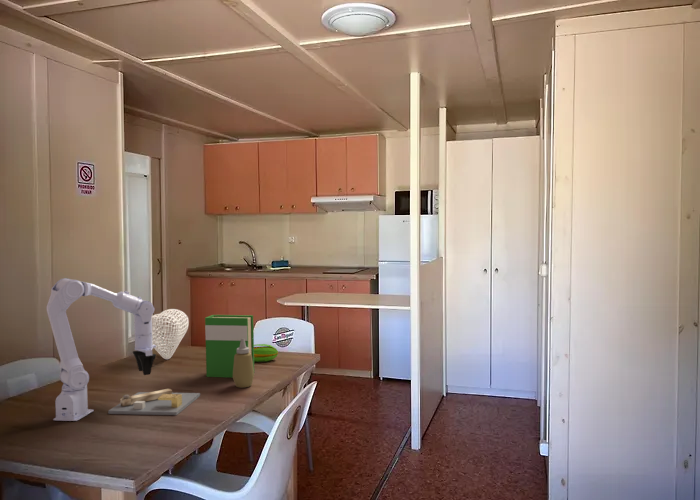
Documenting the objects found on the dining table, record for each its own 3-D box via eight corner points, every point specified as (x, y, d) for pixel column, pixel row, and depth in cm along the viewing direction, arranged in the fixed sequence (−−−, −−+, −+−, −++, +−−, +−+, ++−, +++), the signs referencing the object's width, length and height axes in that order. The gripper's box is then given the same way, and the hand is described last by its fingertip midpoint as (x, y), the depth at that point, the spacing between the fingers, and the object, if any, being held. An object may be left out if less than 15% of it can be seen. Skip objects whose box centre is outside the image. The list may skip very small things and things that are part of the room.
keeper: (177, 407, 175) (176, 397, 175) (158, 407, 176) (157, 397, 176) (182, 403, 179) (181, 394, 179) (163, 403, 180) (163, 393, 180)
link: (122, 406, 177) (122, 397, 177) (119, 404, 179) (119, 395, 179) (172, 396, 187) (172, 387, 187) (168, 393, 190) (168, 385, 190)
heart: (173, 366, 233) (172, 316, 232) (138, 367, 233) (136, 316, 233) (193, 352, 261) (192, 306, 260) (162, 352, 261) (160, 307, 261)
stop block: (142, 409, 175) (142, 403, 175) (133, 408, 175) (133, 402, 175) (145, 407, 177) (145, 401, 177) (136, 406, 177) (136, 400, 177)
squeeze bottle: (233, 389, 198) (232, 341, 197) (232, 383, 206) (231, 337, 205) (255, 387, 200) (254, 340, 199) (253, 382, 208) (252, 336, 207)
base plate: (176, 415, 171) (176, 412, 171) (108, 413, 174) (108, 410, 174) (200, 395, 191) (200, 393, 191) (138, 394, 193) (138, 392, 193)
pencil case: (276, 345, 238) (231, 346, 238) (277, 362, 238) (231, 363, 238) (278, 342, 246) (235, 343, 245) (278, 359, 246) (235, 360, 245)
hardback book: (254, 373, 221) (253, 315, 220) (248, 378, 214) (247, 318, 213) (213, 371, 224) (212, 314, 223) (206, 376, 217) (205, 317, 216)
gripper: (160, 335, 184) (161, 375, 184) (150, 329, 196) (151, 366, 196) (139, 338, 180) (140, 378, 180) (129, 332, 192) (130, 369, 192)
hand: (144, 372), depth 188 cm, fingers open, 6 cm apart
